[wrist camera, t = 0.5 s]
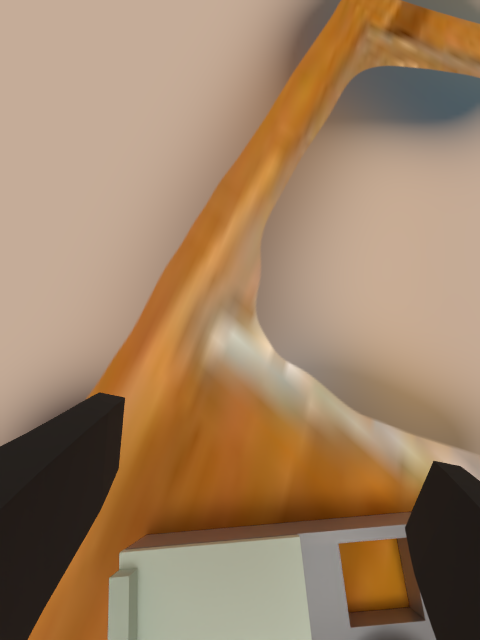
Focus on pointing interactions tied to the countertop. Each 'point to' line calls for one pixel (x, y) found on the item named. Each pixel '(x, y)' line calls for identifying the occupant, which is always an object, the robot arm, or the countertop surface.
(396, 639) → the housing
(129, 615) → the lid
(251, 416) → the countertop surface
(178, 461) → the countertop surface
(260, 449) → the countertop surface
